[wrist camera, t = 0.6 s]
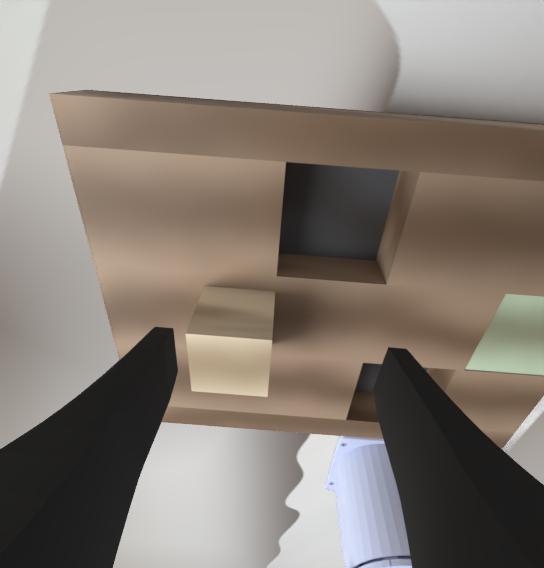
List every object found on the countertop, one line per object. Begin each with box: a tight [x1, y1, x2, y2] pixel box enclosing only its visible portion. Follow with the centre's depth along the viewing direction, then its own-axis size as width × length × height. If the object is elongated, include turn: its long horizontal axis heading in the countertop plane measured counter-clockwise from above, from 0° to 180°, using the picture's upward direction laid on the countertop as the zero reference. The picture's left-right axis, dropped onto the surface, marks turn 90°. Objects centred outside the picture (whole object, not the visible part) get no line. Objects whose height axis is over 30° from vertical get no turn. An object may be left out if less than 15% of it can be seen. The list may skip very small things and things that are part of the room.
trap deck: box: [49, 90, 544, 448], centre depth 21 cm, size 22×28×3 cm
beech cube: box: [186, 286, 275, 397], centre depth 18 cm, size 4×4×4 cm
